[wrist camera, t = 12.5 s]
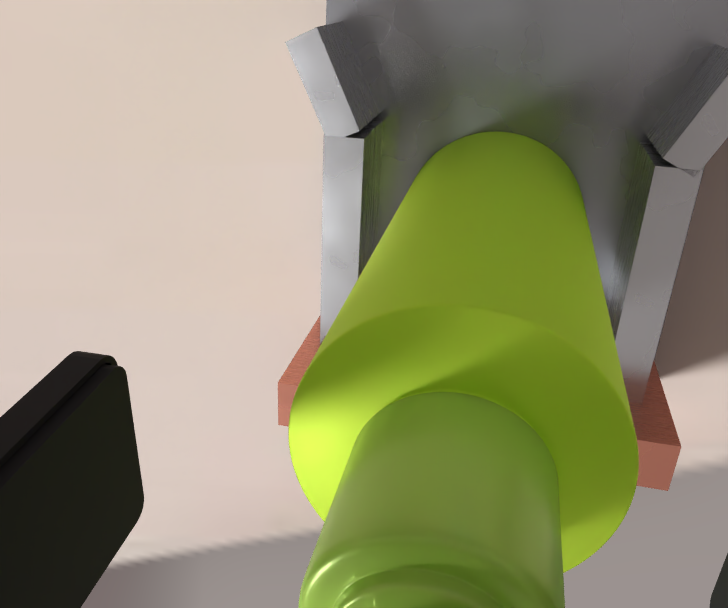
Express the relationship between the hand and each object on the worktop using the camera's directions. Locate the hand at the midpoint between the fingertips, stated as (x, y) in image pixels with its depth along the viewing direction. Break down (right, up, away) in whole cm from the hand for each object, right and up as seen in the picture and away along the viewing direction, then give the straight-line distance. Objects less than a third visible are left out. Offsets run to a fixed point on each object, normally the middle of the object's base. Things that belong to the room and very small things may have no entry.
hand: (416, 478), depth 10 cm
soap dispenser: (+3, +6, +13) cm, 15 cm away
